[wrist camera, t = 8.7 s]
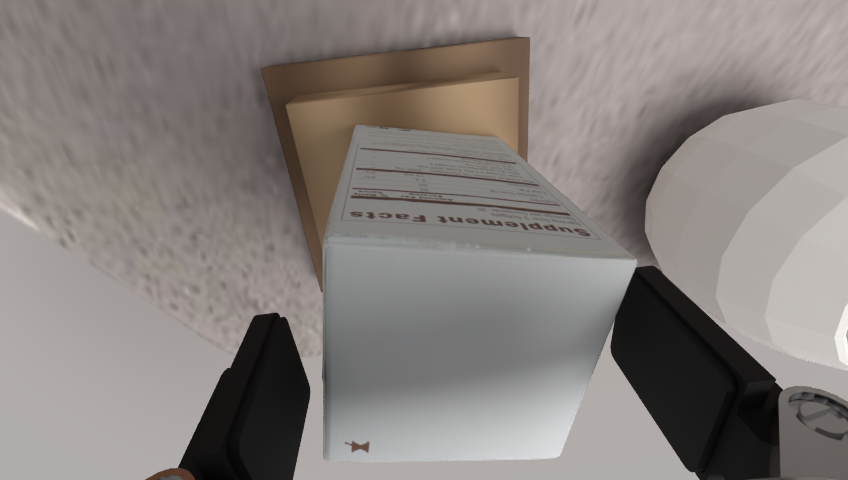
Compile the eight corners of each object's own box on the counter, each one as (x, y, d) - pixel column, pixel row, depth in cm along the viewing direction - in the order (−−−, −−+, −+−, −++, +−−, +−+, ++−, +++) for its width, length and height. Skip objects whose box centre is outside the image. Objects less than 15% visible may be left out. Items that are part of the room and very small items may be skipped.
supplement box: (476, 259, 23) (561, 468, 12) (347, 252, 22) (313, 471, 11) (503, 133, 20) (653, 260, 9) (353, 117, 19) (313, 237, 8)
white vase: (643, 92, 25) (881, 149, 13) (839, 85, 26) (1229, 131, 14) (603, 272, 31) (740, 423, 19) (763, 261, 32) (989, 398, 20)
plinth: (518, 36, 23) (551, 38, 18) (516, 250, 29) (540, 289, 25) (270, 65, 22) (242, 74, 18) (324, 276, 29) (314, 320, 24)
